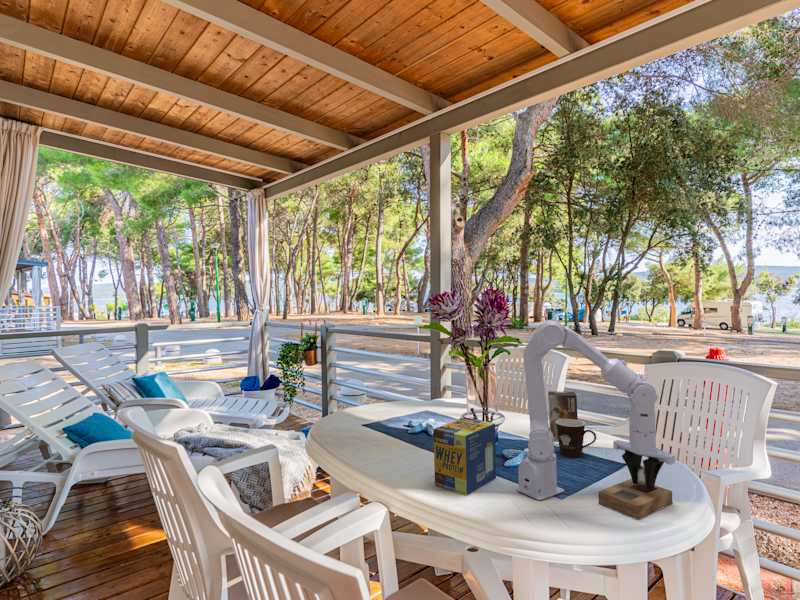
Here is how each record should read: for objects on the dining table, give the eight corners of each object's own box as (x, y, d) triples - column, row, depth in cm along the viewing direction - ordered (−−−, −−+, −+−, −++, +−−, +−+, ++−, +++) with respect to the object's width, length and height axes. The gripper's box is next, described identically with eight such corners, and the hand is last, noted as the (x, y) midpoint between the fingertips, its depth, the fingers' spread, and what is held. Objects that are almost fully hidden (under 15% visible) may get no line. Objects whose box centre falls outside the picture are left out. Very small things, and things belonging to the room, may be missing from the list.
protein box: (434, 486, 129) (432, 428, 128) (466, 469, 140) (464, 416, 140) (466, 496, 122) (465, 435, 122) (497, 477, 133) (496, 422, 133)
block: (638, 519, 107) (637, 506, 107) (598, 503, 115) (598, 491, 115) (672, 503, 114) (672, 491, 114) (632, 489, 123) (632, 478, 123)
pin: (646, 496, 115) (646, 471, 115) (634, 491, 117) (634, 467, 117) (653, 492, 116) (652, 468, 116) (641, 488, 119) (640, 464, 119)
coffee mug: (550, 452, 153) (549, 421, 153) (572, 448, 156) (571, 417, 156) (576, 464, 142) (575, 430, 142) (599, 459, 145) (598, 426, 145)
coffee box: (576, 437, 168) (575, 391, 167) (578, 442, 161) (577, 395, 161) (549, 435, 170) (548, 390, 170) (550, 441, 164) (549, 394, 163)
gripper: (681, 433, 112) (682, 491, 113) (624, 420, 125) (625, 472, 125) (665, 439, 109) (666, 498, 109) (607, 425, 121) (608, 478, 121)
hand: (643, 485), depth 117 cm, fingers closed on pin, 3 cm apart
